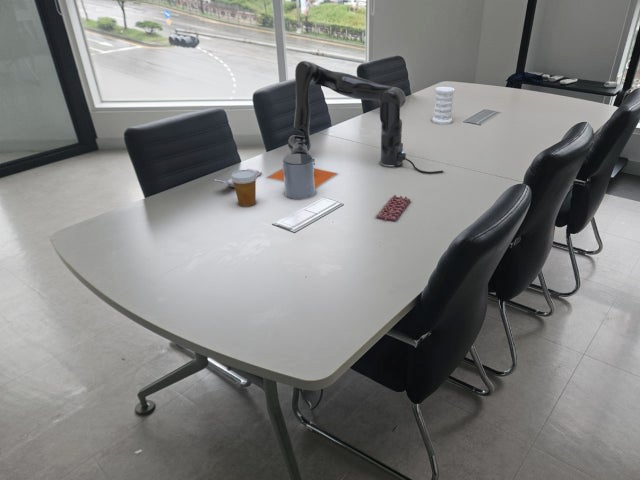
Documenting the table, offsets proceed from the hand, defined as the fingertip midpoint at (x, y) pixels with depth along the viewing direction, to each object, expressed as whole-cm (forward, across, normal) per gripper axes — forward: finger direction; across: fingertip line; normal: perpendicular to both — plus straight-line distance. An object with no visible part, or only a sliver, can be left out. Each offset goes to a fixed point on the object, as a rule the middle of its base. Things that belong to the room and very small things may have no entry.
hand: (300, 169), depth 211 cm
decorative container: (-84, +82, +6) cm, 118 cm away
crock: (+10, -1, +6) cm, 12 cm away
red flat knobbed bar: (+30, +34, +6) cm, 46 cm away
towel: (-9, +1, +6) cm, 11 cm away
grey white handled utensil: (-3, -26, +6) cm, 26 cm away
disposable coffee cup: (+17, -21, +6) cm, 28 cm away
